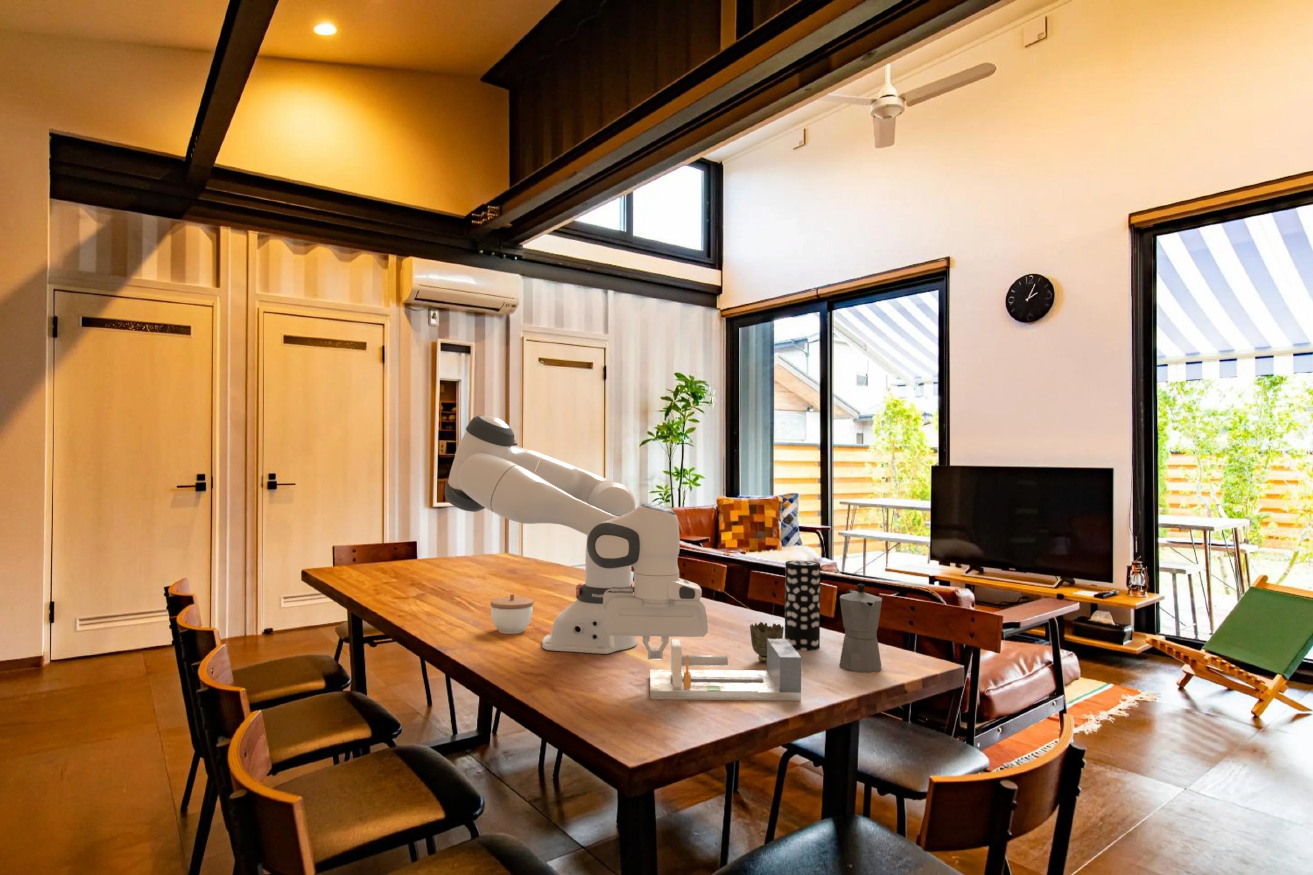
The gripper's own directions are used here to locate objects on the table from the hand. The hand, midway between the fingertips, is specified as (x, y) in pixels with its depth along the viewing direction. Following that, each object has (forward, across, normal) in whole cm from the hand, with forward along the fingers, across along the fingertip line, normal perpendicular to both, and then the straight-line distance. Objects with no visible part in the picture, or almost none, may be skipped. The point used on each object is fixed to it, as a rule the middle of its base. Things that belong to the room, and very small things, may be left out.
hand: (655, 658), depth 142 cm
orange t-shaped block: (+4, +6, -6) cm, 9 cm away
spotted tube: (+6, +36, +34) cm, 49 cm away
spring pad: (+3, +9, -1) cm, 9 cm away
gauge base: (+6, +13, 0) cm, 14 cm away
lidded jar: (+6, -36, +45) cm, 58 cm away
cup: (+6, +25, +20) cm, 32 cm away
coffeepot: (+6, +45, +18) cm, 49 cm away
